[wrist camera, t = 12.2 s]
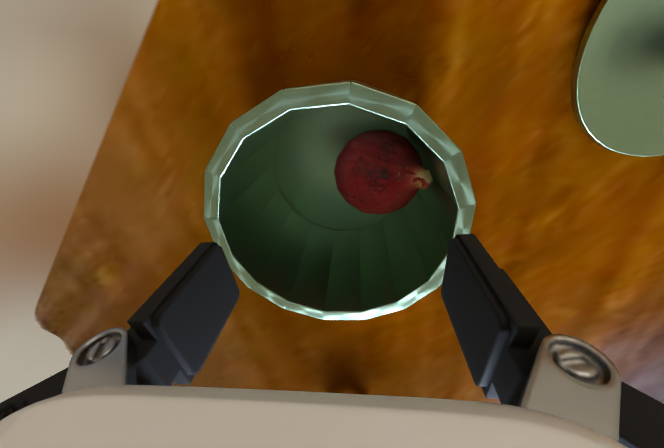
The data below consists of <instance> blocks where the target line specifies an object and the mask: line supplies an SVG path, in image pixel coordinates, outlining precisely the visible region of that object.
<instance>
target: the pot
mask: <svg viewBox="0 0 664 448" xmlns="http://www.w3.org/2000/svg"><path fill="white" fill-rule="evenodd" d="M373 130H388V131H391V132H394V133H397V134H399V135H401V136H404V137H405V138H406V139H408V140H409V141H410V142H411V144H412V145H413V146H414V147H415V149H416V150H417V151H418V153H419V155H420V158H421V162H422V167H423V168H424V169H426V170H430V173H431V177H432V179H433V180H432V182H431V184H430V185H429V186H428V187H427V188H426V189H421V188H419V190H418V192H417V194H416V195H415V196H414V197H413V198H412V199H411V201H410V202H409V203H408V204H407V205H406V206H404V207H403V208H401V209H399V210H396V211H393V212H390V213H387V214H368V213H364V212H361V211H359V210H358V209H356V208H355V207H353V206H351V205H350V204H349V203H347V202H346V201H345V199H344V198H343V196H342V195H341V194H340V192H339V191H338V189H337V185H336V180H335V175H334V169H335V165H336V160H337V157H338V155H339V154H340V153H341V151H342V150H343V148H344V147H345V145H346V144H347V143H348V141H350V140H351V139H353V138H354V137H356V136H358V135H359V134H361V133H364V132H366V131H373ZM475 207H476V199H475V196H474V192H473V189H472V185H471V182H470V178H469V175H468V171H467V168H466V164H465V161H464V157H463V153H462V151H461V150H460V148H459V147H458V146H457V145H456V144H455V143H454V142H453V141H452V140H451V139H450V138H449V137H448V136H447V135H446V134H445V133H444V132H443V130H442V129H441V128H440V127H439V126H438V125H437V124H436V123H435V122H434V121H433V120H432V119H431V118H430V117H429V116H428V115H427V114H426V113H425V112H424V111H423V110H422V109H421V108H420V107H419V106H418V105H416V104H415V103H413V102H411V101H409V100H407V99H404V98H402V97H400V96H398V95H396V94H393V93H391V92H389V91H386V90H383V89H381V88H378V87H375V86H372V85H369V84H366V83H364V82H361V81H358V80H355V79H354V80H353V79H351V80H342V81H333V82H325V83H317V84H311V85H304V86H298V87H292V88H285V89H282V90H280V91H278V92H277V93H275V94H274V95H272V96H271V97H269V98H268V99H266V100H264V101H263V102H261V103H260V104H258V105H257V106H255V107H254V108H252V109H251V110H249V111H248V112H246V113H245V114H243V115H242V116H240V117H239V118H237V119H236V120H234V121H233V122H231V124H230V125H229V127H228V129H227V131H226V132H225V134H224V136H223V138H222V140H221V142H220V143H219V145H218V147H217V149H216V151H215V153H214V154H213V156H212V158H211V160H210V162H209V164H208V165H207V167H206V170H205V188H204V219H205V222H206V224H207V227H208V229H209V231H210V234H211V236H212V239H213V241H214V242H216V243H217V244H218V245H220V246H221V247H222V249H223V251H224V254H225V256H226V259H227V261H228V264H229V266H230V268H231V269H232V270H233V272H234V273H235V274H236V275H237V276H238V277H239V278H240V279H241V280H242V281H243V282H244V284H245V285H246V286H247V287H248V288H250V289H251V290H253V291H255V292H256V293H258V294H260V295H261V296H263V297H265V298H266V299H268V300H270V301H271V302H273V303H275V304H277V305H278V306H280V307H282V308H285V309H286V310H290V311H293V312H297V313H301V314H304V315H308V316H312V317H315V318H319V319H324V320H366V319H369V318H373V317H377V316H380V315H384V314H388V313H391V312H395V311H399V310H403V309H405V308H407V307H408V306H410V305H411V304H413V303H415V302H416V301H418V300H419V299H421V298H422V297H424V296H426V295H427V294H429V293H430V292H432V291H433V290H435V289H436V288H438V287H439V286H440V285H441V284H442V282H443V276H444V271H445V265H446V259H447V253H448V248H449V242H450V239H451V238H455V236H456V235H457V234H470V230H471V226H472V221H473V216H474V212H475Z"/></svg>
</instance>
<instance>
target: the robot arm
mask: <svg viewBox="0 0 664 448" xmlns="http://www.w3.org/2000/svg"><path fill="white" fill-rule="evenodd" d="M441 294H442V299H443V301H444V304H445V307H446V309H447V312H448V314H449V317H450V320H451V322H452V325H453V328H454V330H455V333H456V335H457V338H458V341H459V343H460V346H461V349H462V351H463V354H464V356H465V359H466V362H467V364H468V367H469V370H470V372H471V375H472V377H473V380H474V382H475V384H476V385H477V386H481V387H482V390H483V392H484V395H485V397H486V398H499V400H500V402H501V404H495V403H487V402H478V401H463V400H449V399H435V398H421V397H402V396H382V395H363V394H344V393H324V392H303V391H282V390H260V389H238V388H213V387H189V386H171V385H172V384H173V382H175V383H176V384H190V383H191V381H192V379H193V377H194V376H195V375H196V374H198V373H199V371H200V370H201V368H202V366H203V364H204V362H205V361H206V359H207V357H208V355H209V353H210V351H211V349H212V347H213V346H214V344H215V342H216V340H217V338H218V336H219V334H220V332H221V331H222V329H223V327H224V325H225V323H226V321H227V319H228V317H229V315H230V314H231V312H232V310H233V308H234V306H235V304H236V302H237V300H238V298H239V289H238V286H237V284H236V281H235V279H234V276H233V274H232V271H231V269H230V266H229V264H228V261H227V259H226V256H225V254H224V251H223V249H222V247H221V246H220V245H218V244H217V243H216V242H204V243H200V244H199V245H198V246H197V247H196V248H195V249H194V250H193V252H192V253H191V254H190V255H189V256H188V257H187V258H186V259H185V260H184V261H183V262H182V263H181V264H180V265H179V267H178V268H177V269H176V270H175V271H174V272H173V273H172V274H171V275H170V276H169V277H168V278H167V279H166V280H165V282H164V283H163V284H162V285H161V286H160V287H159V288H158V289H157V290H156V291H155V292H154V293H153V294H152V295H151V297H150V298H149V299H148V300H147V301H146V302H145V303H144V304H143V305H142V306H141V307H140V308H139V309H138V310H137V312H136V313H135V314H134V315H133V316H132V317H131V318H130V319H129V320H128V321H127V322H128V323H129V325H130V326H131V328H130V329H129V330H128V331H127V330H125V329H124V328H119V327H117V328H111V329H108V330H105V331H103V332H101V333H99V334H97V335H95V336H93V337H92V338H91V339H89V340H88V341H86V342H85V343H84V344H83V345H82V346H81V347H80V348H78V350H77V351H76V352H75V353H74V355H73V356H72V358H71V361H70V363H69V367H68V368H66V369H64V370H62V371H61V372H59V373H57V374H55V375H53V376H51V377H49V378H47V379H45V380H44V381H42V382H40V383H38V384H36V385H34V386H32V387H30V388H28V389H26V390H24V391H22V392H21V393H19V394H17V395H15V396H13V397H11V398H9V399H7V400H5V401H4V402H2V403H0V448H664V404H663V403H661V402H659V401H657V400H655V399H653V398H652V397H650V396H648V395H646V394H644V393H642V392H640V391H638V390H637V389H635V388H633V387H631V386H629V385H627V384H625V383H624V382H622V381H621V378H620V373H619V371H618V370H617V368H616V367H615V365H614V363H613V362H612V361H611V360H610V359H609V358H608V357H607V356H606V355H605V354H604V353H602V352H601V351H599V350H598V349H597V348H595V347H594V346H592V345H590V344H589V343H587V342H585V341H583V340H581V339H578V338H575V337H572V336H569V335H563V334H552V333H551V332H550V331H549V329H548V328H547V327H546V325H545V324H544V323H543V321H542V320H541V319H540V317H539V316H538V315H537V313H536V312H535V311H534V309H533V308H532V307H531V305H530V304H529V303H528V301H527V300H526V299H525V297H524V296H523V295H522V293H521V292H520V291H519V289H518V288H517V287H516V285H515V284H514V283H513V281H512V280H511V279H510V277H509V276H508V275H507V273H506V272H505V271H504V270H503V269H500V268H498V266H497V265H496V263H495V262H494V261H493V259H492V258H491V257H490V255H489V254H488V253H487V251H486V250H485V248H484V247H483V246H482V244H481V243H480V242H479V240H478V239H477V238H476V236H475V235H474V234H457V235H456V236H455V238H451V239H450V242H449V248H448V253H447V259H446V265H445V271H444V276H443V282H442V288H441Z"/></svg>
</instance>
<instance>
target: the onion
mask: <svg viewBox="0 0 664 448" xmlns="http://www.w3.org/2000/svg"><path fill="white" fill-rule="evenodd" d="M334 175H335V180H336V185H337V189H338V191H339V192H340V194H341V195H342V196H343V198H344V199H345V201H346V202H347V203H349V204H350V205H351V206H353V207H355V208H356V209H358V210H359V211H361V212H364V213H368V214H387V213H390V212H393V211H396V210H399V209H401V208H403V207H404V206H406V205H407V204H408V203H409V202H410V201H411V199H412V198H413V197H414V196H415V195H416V194H417V192H418V190H419V188H421V189H426V188H427V187H428V186H429V185H430V184H431V182H432V180H433V179H432V177H431V173H430V170H426V169H424V168H423V167H422V162H421V158H420V155H419V153H418V151H417V150H416V149H415V147H414V146H413V145H412V144H411V142H410V141H409V140H408V139H406V138H405V137H404V136H401V135H399V134H397V133H394V132H391V131H388V130H373V131H366V132H364V133H361V134H359V135H358V136H356V137H354V138H353V139H351V140H350V141H348V143H347V144H346V145H345V147H344V148H343V150H342V151H341V153H340V154H339V155H338V157H337V160H336V165H335V169H334Z"/></svg>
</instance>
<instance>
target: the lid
mask: <svg viewBox="0 0 664 448" xmlns="http://www.w3.org/2000/svg"><path fill="white" fill-rule="evenodd" d="M571 99H572V106H573V111H574V114H575V117H576V119H577V122H578V123H579V125H580V127H581V128H582V130H583V131H584V133H585V134H586V135H587V136H588V137H589V138H590V139H591V140H593V141H594V142H595V143H597V144H598V145H600V146H602V147H604V148H606V149H608V150H611V151H615V152H618V153H622V154H626V155H633V156H660V155H664V0H601V2H600V4H599V5H598V7H597V9H596V10H595V12H594V14H593V16H592V18H591V20H590V22H589V24H588V26H587V28H586V30H585V33H584V35H583V38H582V41H581V43H580V46H579V48H578V52H577V56H576V59H575V63H574V67H573V74H572V80H571Z"/></svg>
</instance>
